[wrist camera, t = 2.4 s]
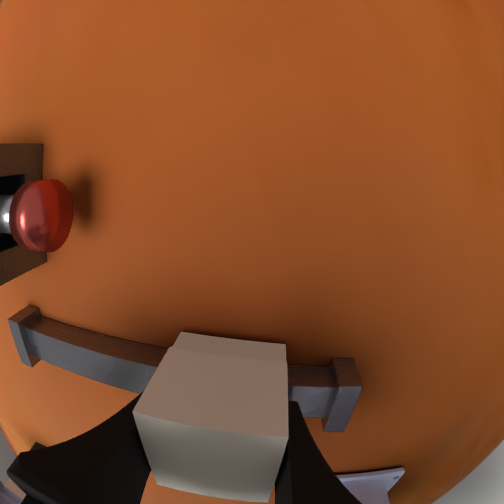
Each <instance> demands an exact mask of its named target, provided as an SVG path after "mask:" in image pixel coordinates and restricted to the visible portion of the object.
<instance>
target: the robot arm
mask: <svg viewBox="0 0 504 504" xmlns="http://www.w3.org/2000/svg"><path fill="white" fill-rule="evenodd" d="M143 392H144V391H143ZM143 392H142V393H141V394H139V395H138V396H137V397H136V398H135V399H134V400H132V401H131V402H130V403H129V404H127V405H126V406H125V407H124V408H122V409H121V410H120V411H119V412H117V413H116V414H114V415H113V416H112V417H110V418H109V419H107V420H106V421H104V422H103V423H101V424H100V425H98V426H96V427H95V428H93V429H91V430H89V431H87V432H86V433H83V434H81V435H79V436H77V437H75V438H73V439H70V440H68V441H65V442H62V443H59V444H56V445H53V446H50V447H47V448H42V449H38V450H32V451H27V452H21V453H20V454H19V455H18V456H17V458H16V459H15V460H14V462H13V463H12V464H11V466H10V467H9V468H8V470H7V475H8V476H9V477H10V479H11V480H12V481H13V482H14V483H15V484H16V485H17V486H18V487H19V488H20V489H21V490H22V491H23V492H24V493H25V494H26V496H25V498H24V499H23V500H22V499H21V498H19V497H18V496H17V495H15V494H14V493H13V492H11V491H10V490H9V489H8V488H6V487H5V486H4V485H3V484H2V482H1V481H0V504H140V502H141V498H142V495H143V491H144V488H145V485H146V482H147V479H148V476H149V474H150V472H151V467H150V465H149V462H148V459H147V456H146V453H145V450H144V448H143V445H142V442H141V438H140V435H139V432H138V429H137V426H136V422H135V419H134V415H133V412H132V411H133V410H134V408H135V406H136V404H137V402H138V401H139V399H140V397H141V395H142V394H143ZM288 431H289V437H288V441H287V444H286V448H285V451H284V455H283V458H282V461H281V465H280V468H279V471H278V474H277V477H276V480H275V504H390V502H389V498H388V494H387V492H388V491H389V490H390V489H391V488H392V487H393V486H394V484H395V483H396V482H397V481H398V480H399V479H400V478H401V476H402V475H403V474H404V473H405V470H404V468H395V469H389V470H382V471H375V472H367V473H357V474H345V475H335V473H334V472H333V471H332V469H331V468H330V467H329V465H328V464H327V462H326V461H325V459H324V457H323V456H322V454H321V452H320V451H319V449H318V447H317V445H316V444H315V442H314V440H313V438H312V436H311V434H310V432H309V429H308V427H307V425H306V423H305V420H304V418H303V415H302V412H301V409H300V406H299V403H298V402H297V401H288Z"/></svg>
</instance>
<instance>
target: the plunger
mask: <svg viewBox="0 0 504 504" xmlns="http://www.w3.org/2000/svg"><path fill="white" fill-rule="evenodd" d="M72 219H73V205H72V200H71V196H70V193H69V191H68V189H67V188H66V186H65V185H64V184H63V183H62V182H60V181H58V180H37V181H29V182H26V183H25V184H23V185H22V186H21V187H20V188H19V189H18V190H17V192H16V193H15V195H0V233H7V234H12V236H13V238H14V240H15V241H16V242H17V244H18V245H20V246H21V247H23V248H25V249H29V250H36V251H42V252H53V251H56V250H58V249H59V248H60V247H61V246H62V245H63V244H64V242H65V241H66V239H67V237H68V235H69V232H70V229H71V225H72Z"/></svg>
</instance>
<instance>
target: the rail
mask: <svg viewBox="0 0 504 504" xmlns="http://www.w3.org/2000/svg"><path fill="white" fill-rule="evenodd" d="M8 322H9V326H10V329H11V332H12V335H13V338H14V341H15V344H16V347H17V350H18V353H19V356H20V358H21V361H22V363H24V364H26V365H28V366H30V367H33V366H34V365H35V364H37V363H38V362H39V361H40V360H43V361H46V362H48V363H50V364H53V365H55V366H58V367H60V368H63V369H65V370H68V371H71V372H73V373H76V374H79V375H81V376H84V377H87V378H90V379H93V380H96V381H99V382H102V383H105V384H108V385H111V386H115V387H118V388H121V389H125V390H128V391H132V392H136V393H139V394H141V393H142V392H143V391H144V390H145V388H146V387H147V385H148V383H149V381H150V380H151V378H152V376H153V375H154V373H155V371H156V369H157V368H158V366H159V364H160V362H161V361H162V359H163V357H164V356H165V354H166V352H167V350H168V349H166V348H161V347H156V346H151V345H146V344H142V343H137V342H132V341H128V340H124V339H119V338H115V337H111V336H107V335H103V334H99V333H96V332H92V331H88V330H84V329H81V328H77V327H74V326H71V325H67V324H64V323H61V322H57V321H54V320H51V319H48V318H45V317H42V316H40V312H39V308H36V307H33V306H30V305H28V306H26V307H25V308H23V309H22V310H20V311H19V312H17V313H16V314H14V315H13V316H12V317H10V318H9V319H8ZM287 375H288V401H297V402H298V403H299V406H300V409H301V412H302V415H303V417H305V418H321V419H322V427H323V432H344V430H345V428H346V426H347V424H348V421H349V419H350V417H351V414H352V412H353V410H354V407H355V405H356V402H357V400H358V397H359V395H360V392H361V390H362V387H363V385H362V382H361V379H360V376H359V373H358V371H357V368H356V365H355V362H354V359H353V358H332V362H331V366H308V365H292V364H287Z"/></svg>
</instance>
